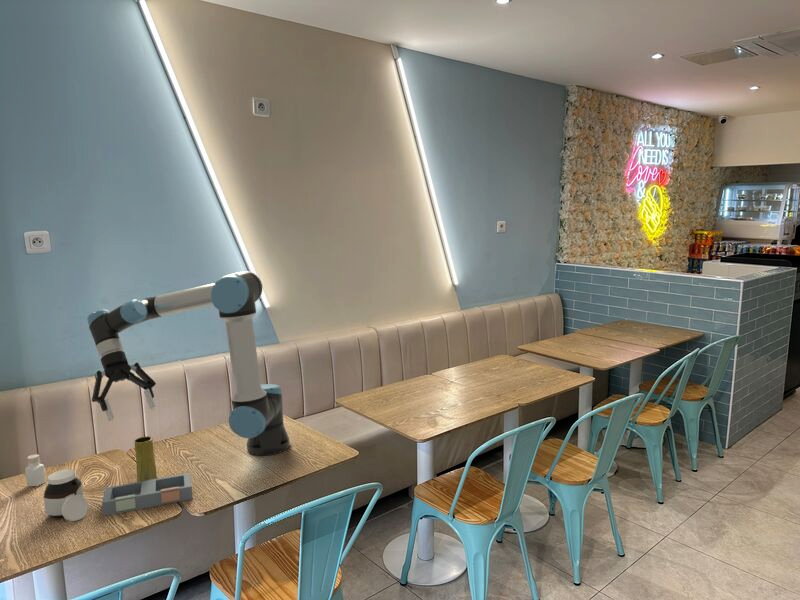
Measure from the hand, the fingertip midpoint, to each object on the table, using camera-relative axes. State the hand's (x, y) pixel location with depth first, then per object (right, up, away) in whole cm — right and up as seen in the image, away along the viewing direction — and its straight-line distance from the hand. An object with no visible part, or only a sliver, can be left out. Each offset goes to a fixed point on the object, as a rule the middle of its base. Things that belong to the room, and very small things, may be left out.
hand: (132, 413), depth 191 cm
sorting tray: (+12, -23, -16) cm, 30 cm away
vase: (+7, -21, -5) cm, 23 cm away
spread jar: (-7, -24, -24) cm, 35 cm away
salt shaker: (-29, -22, -4) cm, 36 cm away
